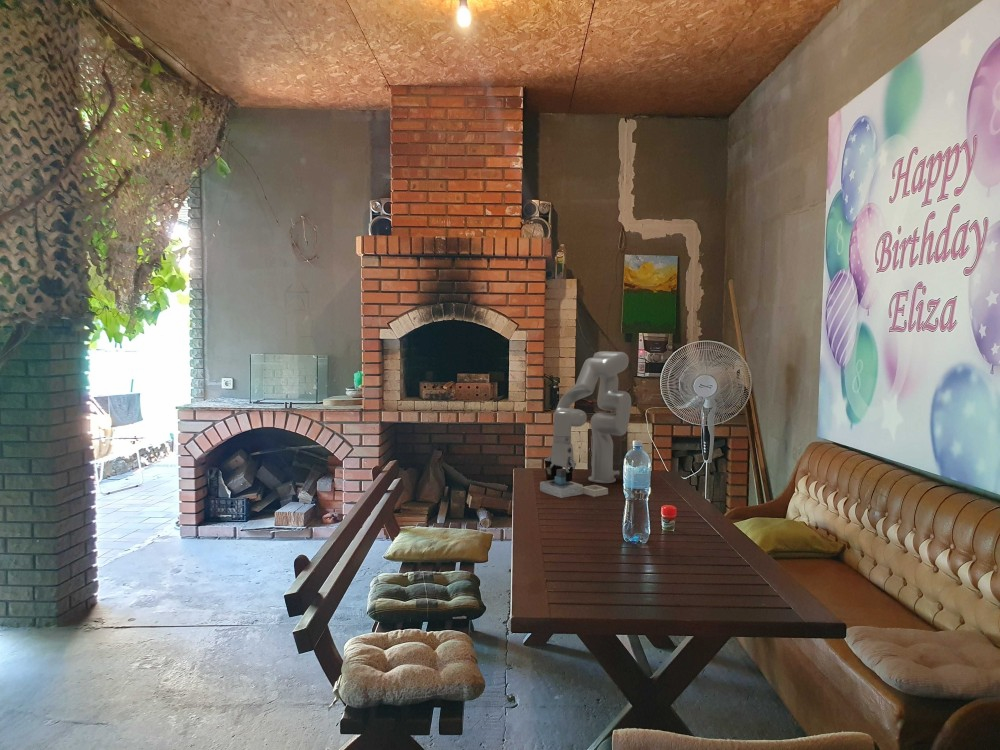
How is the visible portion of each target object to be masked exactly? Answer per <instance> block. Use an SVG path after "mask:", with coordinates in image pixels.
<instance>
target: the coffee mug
mask: <svg viewBox="0 0 1000 750" xmlns="http://www.w3.org/2000/svg"><path fill="white" fill-rule="evenodd" d="M556 468H557V469H563V467H561V466H557V467H556ZM544 469H545V478H546V480H545V481H549V480H555V477H553V478H552V477H551V468H550V464H549V461H548V457H546V458H544ZM568 469H569V467H568Z"/></svg>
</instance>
